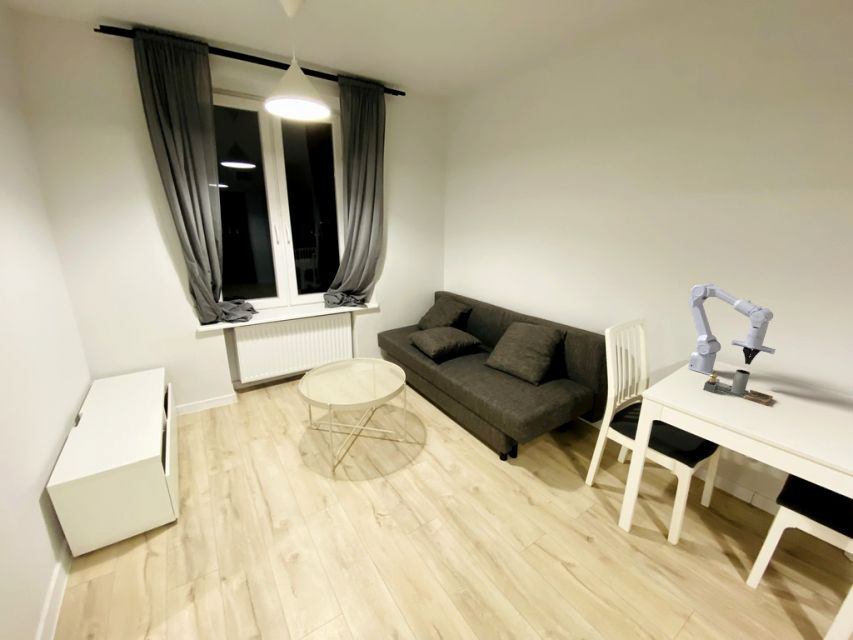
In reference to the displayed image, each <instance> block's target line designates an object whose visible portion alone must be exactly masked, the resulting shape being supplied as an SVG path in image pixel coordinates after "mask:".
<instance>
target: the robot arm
mask: <svg viewBox="0 0 853 640" xmlns="http://www.w3.org/2000/svg"><path fill="white" fill-rule="evenodd" d="M708 298H717V299H718V300H721V301H724V302H725V303H727V304H729V305H731V306H733V309H734V310H735V311H737V312H738V313H740V314H742V315H744V316H745V317H747V318H749V319H750V324H749V327H748V331H747V334H746V338H745V341H742V340H736V339H735V340H734V339H733V340H732V341H731V343H730V344H731V346H738V347H742V353H743V355H744V364H745V365H749V366H750V365H751V364H752V362H753V360H754V359H755V358H756V356H757V355H758V354H759V353H760V352H764V353H768V354H770V355H774V354H775V352H776V349H775V348H772V347H768V346H765V345H763V344H764V340H765V337H766V334H767V330H768V327H769V324H770V321H771V320H772V319H773V318H774V313H773V312H772V311H771V310H770V309H769V308H763V307H762V306H760V305H759V306H758V305H757V304H754V303H752V302H751V300H750V299H744V298H743V299H739V298H737V297H736V296H734V295H732V294H730V293H729V292H727V291H726V290H724V289H722V288H721V287H719V285H715V284H713V283H710V282H709V283H708V282H707V283H703V284H702V283H701V284H696V285H694V286H692V288H691V289H690V290H689V298H688V302H687V303H688V306H689V310H690V313H691V316H692V320H693V323H694V325H695V330H696V333H697V339H696V351H695V350H694V351H692V353H691V356H690V358H689V364H688V367H687V369H688V370H690V371H694V372H698V373H701V374H705V375H708V376H710V374H711V373H712V374H714V372H716V370H715V369H714V365H715V361H716V358H717V353H718V352H719V351H721V349H722V345H721V343H720V342H719V341H718V340H717V337H716V336H715V335H714V334H713V333H712V330H711V326H710V324H709V323H710V322H709V320H708V318H707V317H708V316H707V313H706V310H705V308H704V302H705V301H706V300H707V299H708Z"/></svg>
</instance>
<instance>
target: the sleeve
mask: <svg viewBox="0 0 853 640" xmlns="http://www.w3.org/2000/svg"><path fill="white" fill-rule="evenodd" d="M719 382H720V381H719ZM720 383H723V384H726V383H724V382H720ZM726 385H728V384H726ZM729 385H730V388H729V389H731V388H732V385H731V384H729ZM716 391H719V392H723V393H725V394H727V395H731V396H734V397H739V398H742V399H744V398H745V395H739V394H736V393H733V392H731V390H730V391H729V390H727V391H726V390H723V389H720V388H717V390H716ZM744 393H746V394H750V390H747V389H745V392H744Z"/></svg>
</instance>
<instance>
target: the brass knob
mask: <svg viewBox="0 0 853 640" xmlns="http://www.w3.org/2000/svg"><path fill="white" fill-rule="evenodd" d="M717 378H718V374H716V373H711V374H710V375H709V379H710V380H709V379H708V381H709V384H712V385H714V384H715V380H716V379H717Z"/></svg>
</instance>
